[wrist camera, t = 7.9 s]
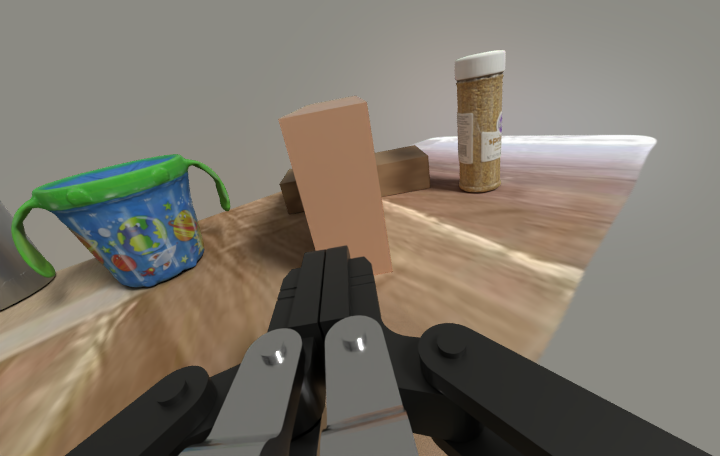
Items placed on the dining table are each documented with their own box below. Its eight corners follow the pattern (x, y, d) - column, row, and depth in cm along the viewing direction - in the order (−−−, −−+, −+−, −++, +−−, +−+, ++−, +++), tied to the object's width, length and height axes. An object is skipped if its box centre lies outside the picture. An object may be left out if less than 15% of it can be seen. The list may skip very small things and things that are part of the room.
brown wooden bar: (288, 214, 37) (279, 184, 35) (296, 195, 43) (289, 169, 41) (430, 187, 36) (428, 155, 34) (417, 172, 42) (414, 145, 41)
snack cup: (233, 224, 37) (200, 143, 32) (258, 252, 29) (218, 149, 24) (81, 282, 30) (12, 188, 25) (56, 340, 22) (-53, 217, 17)
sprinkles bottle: (504, 192, 31) (510, 46, 25) (458, 195, 32) (454, 58, 27) (497, 178, 35) (501, 49, 29) (457, 181, 36) (453, 59, 30)
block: (325, 284, 22) (278, 119, 17) (332, 207, 36) (307, 104, 31) (392, 272, 22) (366, 101, 17) (372, 199, 36) (355, 95, 31)
